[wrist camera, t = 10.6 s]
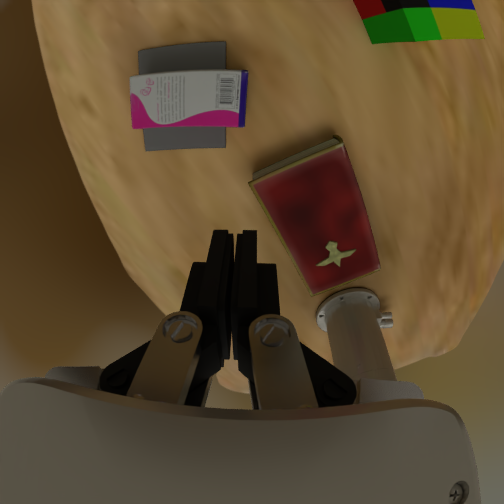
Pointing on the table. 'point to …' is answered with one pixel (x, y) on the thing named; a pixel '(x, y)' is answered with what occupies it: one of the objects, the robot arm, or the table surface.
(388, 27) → the puzzle toy
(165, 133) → the mat
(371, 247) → the hardcover book
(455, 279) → the table surface
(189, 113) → the supplement box
